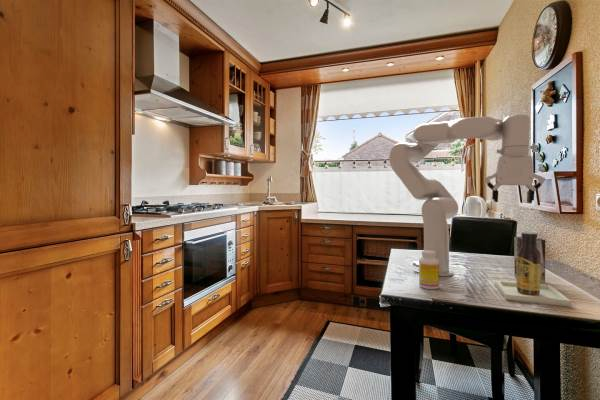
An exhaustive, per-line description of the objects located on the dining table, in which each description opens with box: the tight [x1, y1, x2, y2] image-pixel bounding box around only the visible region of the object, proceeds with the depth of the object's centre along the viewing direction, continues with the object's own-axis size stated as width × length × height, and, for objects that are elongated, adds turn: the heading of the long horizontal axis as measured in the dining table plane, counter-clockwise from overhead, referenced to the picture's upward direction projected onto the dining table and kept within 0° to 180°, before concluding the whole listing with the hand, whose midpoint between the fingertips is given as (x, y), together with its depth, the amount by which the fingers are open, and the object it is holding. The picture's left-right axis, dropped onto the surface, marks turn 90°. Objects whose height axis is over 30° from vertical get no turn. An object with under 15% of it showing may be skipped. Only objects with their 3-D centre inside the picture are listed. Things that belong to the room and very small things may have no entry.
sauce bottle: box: [515, 231, 541, 295], centre depth 98 cm, size 7×6×20 cm
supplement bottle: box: [418, 249, 440, 290], centre depth 108 cm, size 7×7×13 cm
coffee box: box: [513, 236, 546, 284], centre depth 113 cm, size 9×6×16 cm
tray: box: [494, 279, 572, 308], centre depth 98 cm, size 16×16×2 cm
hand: (512, 202), depth 104 cm, fingers open, 9 cm apart
